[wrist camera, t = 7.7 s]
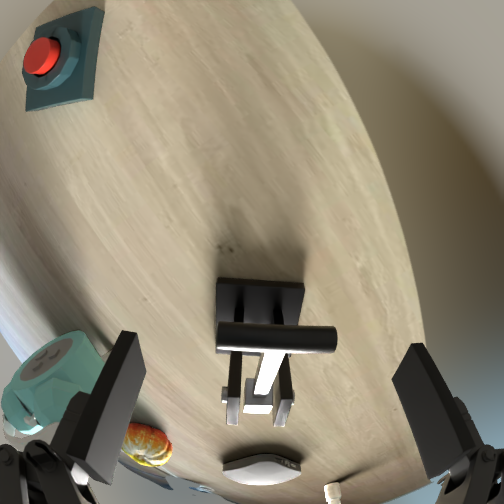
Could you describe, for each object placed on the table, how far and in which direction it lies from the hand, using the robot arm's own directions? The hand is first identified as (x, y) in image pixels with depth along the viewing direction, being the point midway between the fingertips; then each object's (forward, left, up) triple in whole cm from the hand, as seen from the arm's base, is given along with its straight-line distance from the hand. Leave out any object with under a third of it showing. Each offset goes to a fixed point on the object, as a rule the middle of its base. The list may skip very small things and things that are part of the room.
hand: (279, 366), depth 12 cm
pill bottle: (+61, +52, -17) cm, 81 cm away
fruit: (+47, -2, -17) cm, 50 cm away
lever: (+5, +2, -5) cm, 7 cm away
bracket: (+10, +4, -17) cm, 20 cm away
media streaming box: (+50, +24, -17) cm, 57 cm away
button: (-9, -26, -13) cm, 31 cm away
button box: (-9, -26, -17) cm, 33 cm away
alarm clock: (+27, -16, -17) cm, 36 cm away
